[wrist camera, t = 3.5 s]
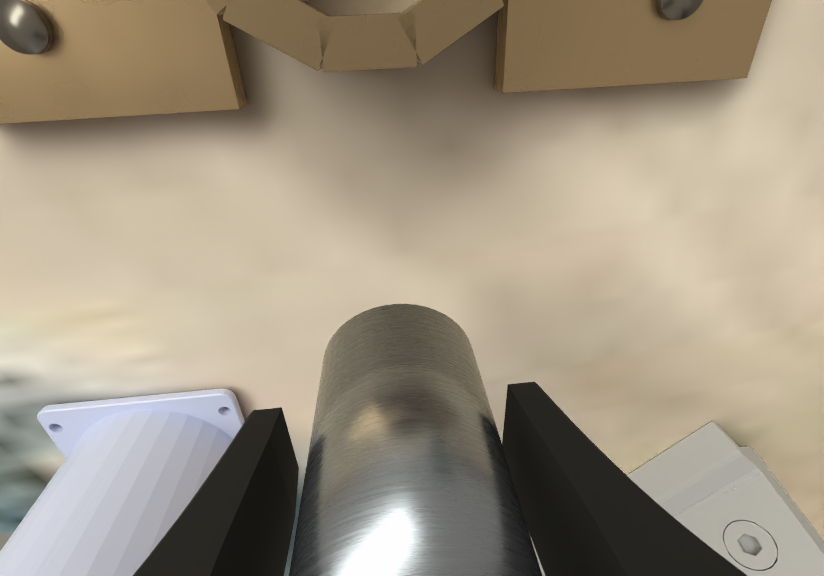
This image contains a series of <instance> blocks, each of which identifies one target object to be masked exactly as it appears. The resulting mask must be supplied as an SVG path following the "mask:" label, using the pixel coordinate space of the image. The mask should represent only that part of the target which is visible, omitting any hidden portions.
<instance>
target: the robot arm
mask: <svg viewBox="0 0 824 576" xmlns="http://www.w3.org/2000/svg"><path fill="white" fill-rule="evenodd" d="M223 407H227V408H229V409H226V408H223ZM37 418H38V420H39V422H40V423H41V425H42V426H43V427H44V429H45V430H46V432H47V433H48V434H49V436H50V437H51V439H52V440H53V441H54V443H55V444H56V446H57V447H58V449H59V450H60V451H61V453H62V454H63V456H64V457H65V458H66V459H65V461H64V462H63V464H62V465H61V466H60V468H59V469H58V471H57V472H56V474H55V475H54V476H53V478H52V479H51V481H50V482H49V483H48V485H47V486H46V488H45V489H44V491H43V492H42V493H41V495H40V496H39V498H38V499H37V500H36V502H35V503H34V505H33V506H32V507H31V509H30V510H29V512H28V513H27V515H26V516H25V517H24V519H23V520H22V522H21V523H20V524H19V526H18V527H17V529H16V530H15V532H14V533H13V534H12V536H11V537H10V539H9V540H8V541H7V543H6V544H5V546H4V547H3V549H2V550H1V551H0V576H284V571H285V566H286V561H287V555H288V550H289V545H290V539H291V534H292V529H293V523H294V518H295V509H296V497H297V485H298V471H299V467H298V464H297V460H296V457H295V453H294V450H293V446H292V443H291V439H290V436H289V432H288V428H287V425H286V421H285V418H284V414H283V411H282V408H273V409H263V410H253V411H252V412H251V414H250V415H249V416H248V418H247V419H246V421H244V418H243V415H242V412H241V409H240V407H239V404H238V401H237V398H236V396H235V394H234V393H233V392H232V391H230V390H228V389H211V390H200V391H190V392H180V393H169V394H159V395H149V396H138V397H128V398H117V399H107V400H97V401H86V402H76V403H66V404H55V405H48V406H45V407H44V408H43V409H42V410H41V411H40V412H39V413H38V415H37ZM502 447H503V450H504V453H505V456H506V460H507V463H508V466H509V469H510V473H511V476H512V479H513V482H514V485H515V489H516V492H517V495H518V498H519V502H520V505H521V508H522V511H523V515H524V518H525V521H526V524H527V528H528V531H529V533H530V536H531V539H532V541H533V544H534V547H535V549H536V552H537V555H538V557H539V560H540V563H541V565H542V568H543V571H544V573H545V576H747V575H746V574H745V573H744V572H742V571H741V570H740V569H738V568H737V567H736V566H734V565H733V564H732V563H730V562H729V561H728V560H727V559H725V558H724V557H723V556H721V555H720V554H719V553H717V552H716V551H715V550H713V549H712V548H711V547H710V546H708V545H707V544H706V543H705V542H703V541H702V540H701V539H700V538H698V537H697V536H696V535H695V534H693V533H692V532H691V531H690V530H689V529H687V528H686V527H685V526H684V525H682V524H681V523H680V522H679V521H678V520H676V519H675V518H674V517H673V516H672V515H670V514H669V513H668V512H667V511H666V510H665V509H663V508H662V507H661V506H660V505H659V504H658V503H657V502H655V501H654V500H653V499H652V498H651V497H650V496H649V495H648V494H646V493H645V492H644V491H643V490H642V489H641V488H640V487H639V486H638V485H636V484H635V483H634V482H633V481H632V480H631V479H630V478H629V477H628V476H627V475H626V474H625V473H623V472H622V471H621V470H620V469H619V468H618V467H617V466H616V465H615V464H614V463H613V462H612V461H611V460H610V459H609V458H608V457H607V456H606V455H605V454H604V453H603V452H602V451H601V450H600V449H599V448H598V447H597V446H596V445H595V444H594V443H593V442H592V441H591V440H590V439H589V438H588V437H587V436H586V435H585V434H584V433H583V432H582V431H581V430H580V429H579V428H578V427H577V426H576V425H575V424H574V423H573V422H572V421H571V420H570V419H569V418H568V417H567V416H566V415H565V414H564V412H563V411H562V410H561V409H560V408H559V407H558V406H557V405H556V404H555V403H554V402H553V401H552V399H551V398H550V397H549V396H548V395H547V394H546V393H545V392H544V391H543V390H542V389H541V387H540V386H539V385H538V384H536V383H535V382H528V383H518V384H509V385H508V388H507V399H506V410H505V420H504V431H503V442H502Z"/></svg>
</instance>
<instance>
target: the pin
mask: <svg viewBox="0 0 824 576" xmlns="http://www.w3.org/2000/svg"><path fill="white" fill-rule="evenodd" d="M289 576H542V573H541V570H540V566H539V563H538V560H537V557H536V553H535V550H534V547H533V544H532V540H531V537H530V534H529V531H528V528H527V524H526V521H525V518H524V515H523V511H522V508H521V505H520V502H519V498H518V495H517V492H516V489H515V485H514V482H513V479H512V476H511V473H510V469H509V466H508V463H507V460H506V456H505V453H504V450H503V447H502V443H501V440H500V437H499V434H498V431H497V427H496V424H495V421H494V418H493V414H492V411H491V408H490V405H489V401H488V398H487V395H486V392H485V388H484V385H483V382H482V379H481V376H480V372H479V369H478V366H477V363H476V359H475V356H474V353H473V350H472V346H471V344H470V341H469V339H468V337H467V335H466V334H465V332H464V331H463V330H462V329H461V327H460V326H459V325H458V324H457V323H456V322H454V321H453V320H452V319H451V318H449V317H447V316H446V315H444V314H442V313H440V312H438V311H436V310H433V309H430V308H427V307H423V306H419V305H411V304H392V305H385V306H380V307H376V308H373V309H370V310H367V311H364V312H362V313H360V314H358V315H356V316H354V317H353V318H352V319H350V320H349V321H347V322H346V323H345V324H344V325H342V326H341V327H340V328H339V329H338V330H337V332H336V333H335V334H334V335H333V337H332V338H331V340H330V341H329V343H328V346H327V348H326V351H325V355H324V360H323V366H322V372H321V379H320V385H319V391H318V398H317V404H316V410H315V416H314V423H313V429H312V435H311V442H310V448H309V454H308V461H307V467H306V473H305V479H304V486H303V492H302V498H301V505H300V511H299V517H298V524H297V530H296V536H295V542H294V549H293V555H292V561H291V568H290V574H289Z"/></svg>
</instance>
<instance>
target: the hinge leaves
mask: <svg viewBox="0 0 824 576" xmlns="http://www.w3.org/2000/svg"><path fill="white" fill-rule="evenodd" d="M771 1H772V0H418V1H417V2H416V3H414V4H413V5H412V6H410V7H409V8H408V9H406V10H405V11H404V12H402V13H390V14H370V15H350V16H330V17H329V16H328V15H326V14H324V13H323V12H321V11H319V10H317V9H316V8H314V7H312V6H310V5H309V4H307V3H305V2H304V1H302V0H0V124H5V123H22V122H38V121H54V120H71V119H87V118H103V117H119V116H136V115H152V114H168V113H185V112H201V111H217V110H233V109H240V108H242V107H244V106H245V105H247V99H246V95H245V91H244V86H243V82H242V77H241V73H240V68H239V64H238V60H237V55H236V51H235V46H234V42H233V37H232V33H231V29H230V24H231V25H233V26H235V27H237V28H239V29H241V30H243V31H244V32H246V33H248V34H250V35H252V36H254V37H256V38H257V39H259V40H261V41H263V42H265V43H267V44H269V45H271V46H272V47H274V48H276V49H278V50H280V51H282V52H284V53H286V54H287V55H289V56H291V57H293V58H295V59H297V60H299V61H300V62H302V63H304V64H306V65H308V66H310V67H312V68H314V69H315V70H317V71H318V70H319V69H321V68H322V67H324V72H337V71H355V70H372V69H390V68H407V67H417V62H419V63H421V64H425V63H426V62H427V61H429V60H430V59H432V58H433V57H434V56H436V55H437V54H438V53H440V52H441V51H443V50H444V49H445V48H447V47H448V46H449V45H451V44H452V43H454V42H455V41H456V40H458V39H459V38H461V37H462V36H463V35H465V34H466V33H467V32H469V31H470V30H472V29H473V28H474V27H476V26H477V25H478V24H480V23H481V22H483V21H484V20H485V19H487V18H488V17H490V16H491V15H492V14H494V13H495V12H496V11H498V23H497V43H496V63H495V84H494V89H495V90H497V91H500V92H502V93H510V92H526V91H543V90H559V89H575V88H592V87H608V86H624V85H640V84H657V83H673V82H689V81H706V80H722V79H738V78H747V75H748V72H749V69H750V66H751V63H752V60H753V57H754V54H755V51H756V47H757V44H758V41H759V38H760V35H761V32H762V29H763V26H764V23H765V20H766V16H767V13H768V10H769V7H770V4H771Z"/></svg>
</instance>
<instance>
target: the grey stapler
mask: <svg viewBox="0 0 824 576" xmlns="http://www.w3.org/2000/svg"><path fill="white" fill-rule="evenodd" d="M627 476H628V477H629V478H630V479H631V480H632V481H633V482H634V483H635V484H636V485H638V486H639V487H640V488H641V489H642V490H643V491H644V492H645V493H646V494H648V495H649V496H650V497H651V498H652V499H653V500H654V501H655V502H657V503H658V504H659V505H660V506H661V507H662V508H663V509H665V510H666V511H667V512H668V513H669V514H670V515H672V516H673V517H674V518H675V519H676V520H678V521H679V522H680V523H681V524H682V525H684V526H685V527H686V528H687V529H689V530H690V531H691V532H692V533H693V534H695V535H696V536H697V537H698V538H700V539H701V540H702V541H703V542H705V543H706V544H707V545H708V546H710V547H711V548H712V549H713V550H715V551H716V552H717V553H719V554H720V555H721V556H723V557H724V558H725V559H727V560H728V561H729V562H730V563H732V564H733V565H734V566H736V567H737V568H738V569H740V570H741V571H742V572H744V573H745V574H746V575H747V576H824V540H823V539H822V538H821V537H820V535H819V534H818V533H817V531H816V530H815V529H814V527H813V526H812V525H811V523H810V522H809V521H808V520H807V518H806V517H805V516H804V514H803V513H802V512H801V510H800V509H799V508H798V506H797V505H796V504H795V502H794V501H793V500H792V499H791V497H790V496H789V495H788V493H787V492H786V491H785V489H784V488H783V487H782V485H781V484H780V483H779V482H778V480H777V479H776V478H775V476H774V475H773V474H772V472H771V471H770V470H769V468H768V467H767V466H766V465H765V463H764V462H763V461H762V459H761V458H760V457H759V455H758V454H757V453H756V451H755V450H754V449H751V447H750V446H745V447H739V446H738V445H737V444H736V443H735V442H734V441H733V440H732V439H731V438H730V437H729V436H728V434H727V433H726V432H725V431H724V430H723V429H722V428H721V427H720V426H719V425H718V424H717V423H716V422H713V421H711V422H710V423H708V424H707V425H705V426H703V427H702V428H700V429H699V430H697V431H696V432H694V433H692V434H691V435H689V436H688V437H686V438H685V439H683V440H681V441H680V442H678V443H677V444H675V445H674V446H672V447H670V448H669V449H667V450H666V451H664V452H663V453H661V454H659V455H658V456H656V457H655V458H653V459H652V460H650V461H648V462H647V463H645V464H644V465H642V466H641V467H639V468H637V469H636V470H634V471H633V472H631V473H630V474H628V475H627ZM531 540H532V539H531ZM532 544H533V541H532ZM533 547H534V544H533ZM534 550H535V553H536V557H537V560H538V563H539V566H540V570H541V573H542V576H545V573H544V571H543V568H542V565H541V563H540V560H539V557H538V555H537V552H536V549H535V547H534Z"/></svg>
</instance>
